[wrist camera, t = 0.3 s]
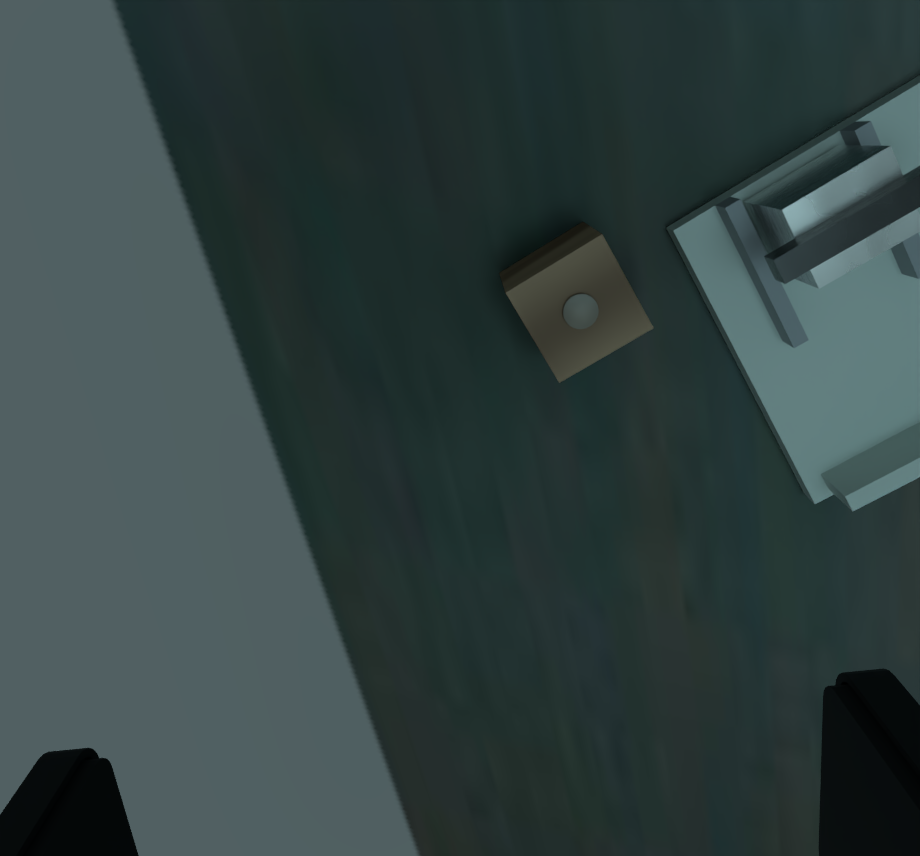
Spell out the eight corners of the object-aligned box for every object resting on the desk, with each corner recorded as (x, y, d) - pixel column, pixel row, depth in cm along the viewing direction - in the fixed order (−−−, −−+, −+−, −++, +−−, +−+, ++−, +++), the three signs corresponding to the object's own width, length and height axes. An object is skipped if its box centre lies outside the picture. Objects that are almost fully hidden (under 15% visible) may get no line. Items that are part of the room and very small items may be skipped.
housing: (498, 273, 43) (506, 294, 37) (582, 221, 42) (603, 234, 37) (546, 352, 45) (559, 384, 39) (628, 304, 44) (655, 329, 38)
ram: (715, 218, 41) (759, 231, 35) (867, 127, 39) (940, 125, 33) (750, 287, 42) (798, 311, 36) (899, 201, 40) (974, 211, 35)
